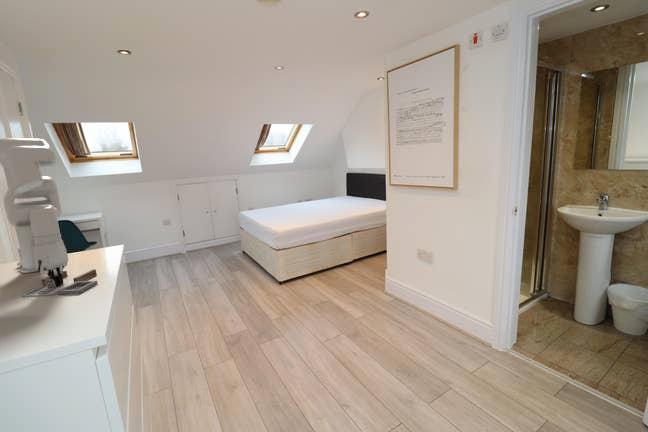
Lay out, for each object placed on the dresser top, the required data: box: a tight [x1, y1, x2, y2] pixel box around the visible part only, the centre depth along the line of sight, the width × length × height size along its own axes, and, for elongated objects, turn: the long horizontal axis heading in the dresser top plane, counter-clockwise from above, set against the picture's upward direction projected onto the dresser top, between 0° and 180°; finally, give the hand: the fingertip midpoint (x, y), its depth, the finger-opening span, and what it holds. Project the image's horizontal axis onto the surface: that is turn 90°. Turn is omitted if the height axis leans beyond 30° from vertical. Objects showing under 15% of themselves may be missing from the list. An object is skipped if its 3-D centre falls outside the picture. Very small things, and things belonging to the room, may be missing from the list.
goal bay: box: [21, 285, 57, 298], centre depth 113 cm, size 12×9×1 cm
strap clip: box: [38, 279, 65, 295], centre depth 115 cm, size 8×3×4 cm, turn 1°
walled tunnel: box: [41, 268, 97, 287], centre depth 123 cm, size 14×10×2 cm
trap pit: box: [56, 280, 98, 296], centre depth 113 cm, size 8×9×2 cm
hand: (57, 284), depth 117 cm, fingers closed
